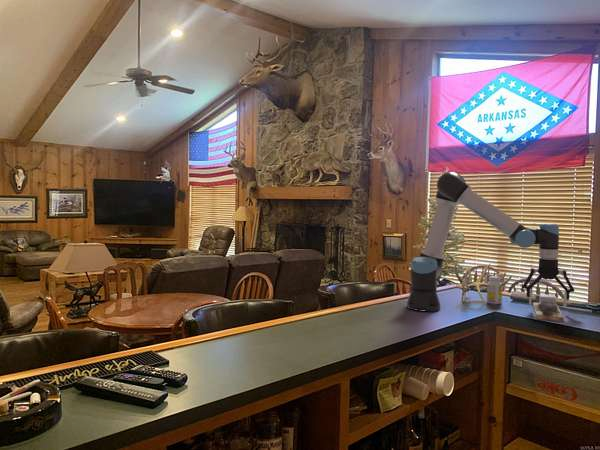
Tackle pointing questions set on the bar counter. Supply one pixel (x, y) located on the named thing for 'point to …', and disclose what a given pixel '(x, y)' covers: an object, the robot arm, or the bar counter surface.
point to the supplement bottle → (494, 290)
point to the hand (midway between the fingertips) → (547, 305)
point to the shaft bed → (547, 317)
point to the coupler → (547, 299)
